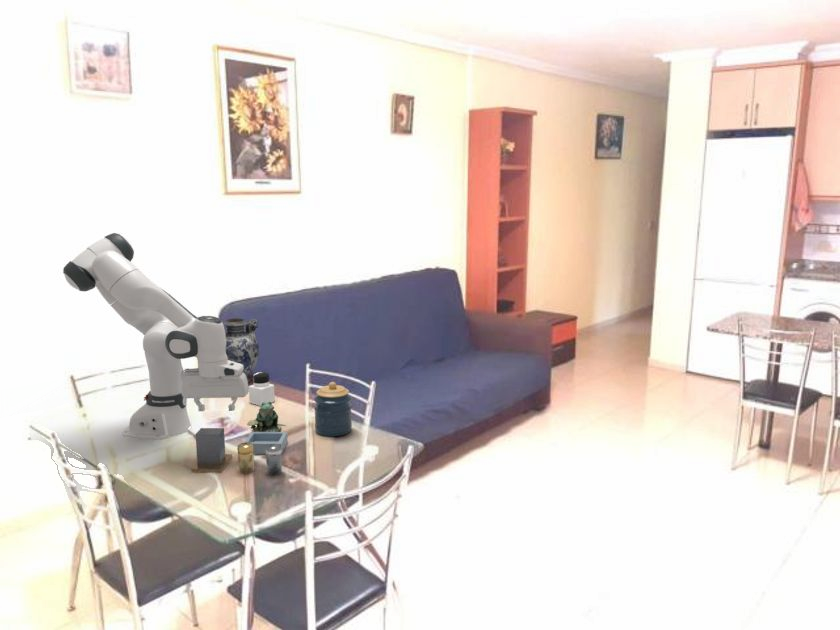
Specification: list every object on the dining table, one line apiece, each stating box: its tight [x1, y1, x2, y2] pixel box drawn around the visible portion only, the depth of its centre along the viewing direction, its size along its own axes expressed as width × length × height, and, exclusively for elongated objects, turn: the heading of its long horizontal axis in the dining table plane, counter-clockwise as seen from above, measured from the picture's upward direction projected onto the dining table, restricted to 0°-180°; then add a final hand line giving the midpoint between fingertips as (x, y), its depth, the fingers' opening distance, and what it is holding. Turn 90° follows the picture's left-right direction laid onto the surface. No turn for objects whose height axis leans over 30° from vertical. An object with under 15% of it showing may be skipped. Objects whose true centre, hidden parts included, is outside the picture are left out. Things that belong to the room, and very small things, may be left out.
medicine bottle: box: [248, 371, 276, 407], centre depth 250 cm, size 7×7×12 cm
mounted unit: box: [190, 427, 233, 473], centre depth 193 cm, size 9×11×11 cm
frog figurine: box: [246, 401, 287, 432], centre depth 219 cm, size 18×18×12 cm
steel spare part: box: [265, 444, 283, 476], centre depth 188 cm, size 5×5×8 cm
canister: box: [313, 381, 353, 437], centre depth 221 cm, size 13×13×18 cm
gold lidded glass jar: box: [237, 441, 255, 474], centre depth 189 cm, size 5×5×8 cm
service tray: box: [243, 431, 289, 455], centre depth 206 cm, size 12×10×4 cm
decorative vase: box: [223, 318, 260, 384], centre depth 275 cm, size 21×19×28 cm
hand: (216, 410), depth 199 cm, fingers open, 8 cm apart
